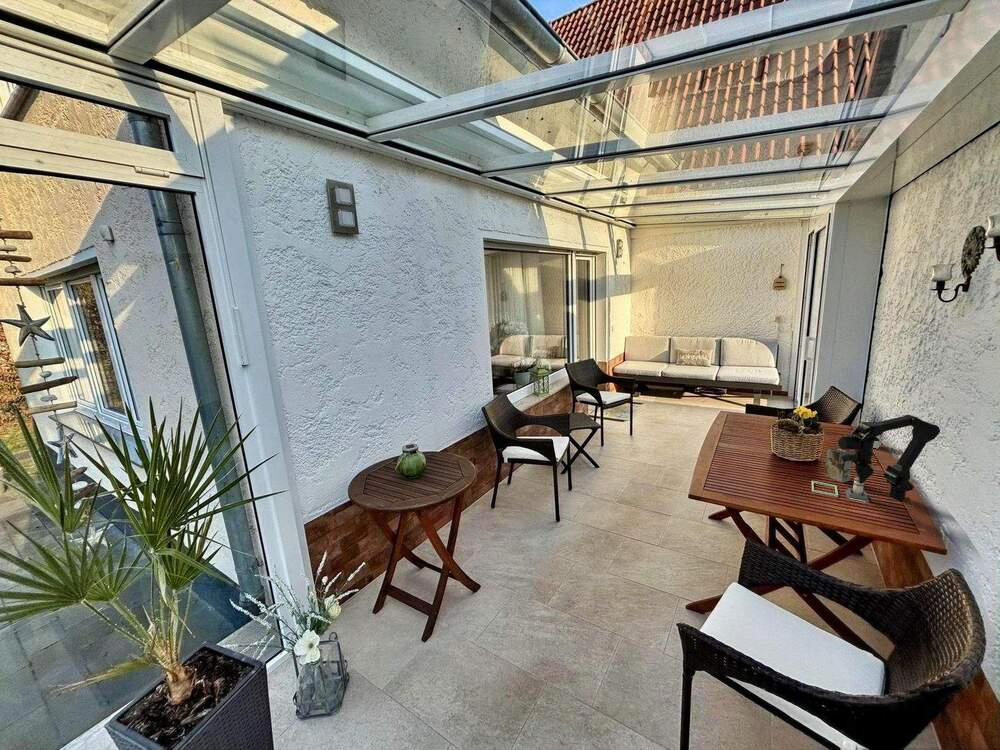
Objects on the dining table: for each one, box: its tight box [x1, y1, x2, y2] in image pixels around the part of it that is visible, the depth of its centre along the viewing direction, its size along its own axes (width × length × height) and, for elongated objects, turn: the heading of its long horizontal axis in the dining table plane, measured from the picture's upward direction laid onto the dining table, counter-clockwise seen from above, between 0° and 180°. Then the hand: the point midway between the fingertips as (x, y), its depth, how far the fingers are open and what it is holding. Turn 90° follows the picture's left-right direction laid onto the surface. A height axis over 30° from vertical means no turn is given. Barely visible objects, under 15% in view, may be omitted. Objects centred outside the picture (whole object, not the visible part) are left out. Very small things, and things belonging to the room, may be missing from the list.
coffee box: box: [824, 446, 853, 483], centre depth 217 cm, size 9×6×16 cm
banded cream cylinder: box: [852, 476, 865, 496], centre depth 199 cm, size 4×4×9 cm
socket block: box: [844, 487, 870, 504], centre depth 200 cm, size 10×8×3 cm
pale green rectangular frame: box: [811, 480, 839, 498], centre depth 207 cm, size 12×10×2 cm
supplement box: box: [860, 420, 884, 449], centre depth 258 cm, size 9×9×15 cm
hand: (859, 479), depth 198 cm, fingers open, 9 cm apart
